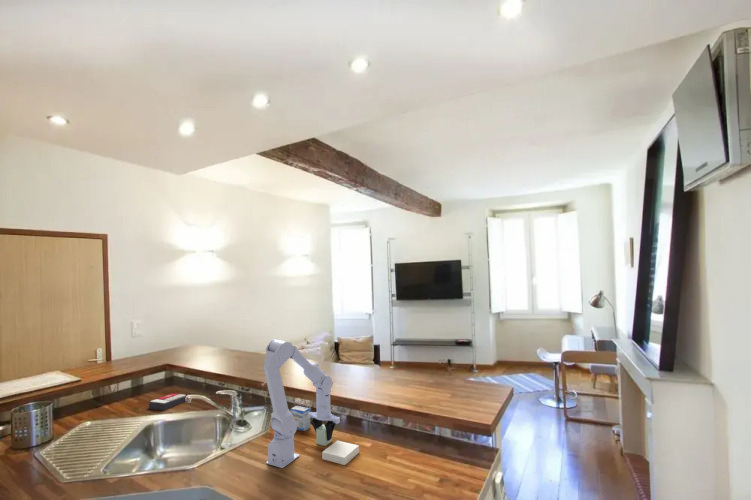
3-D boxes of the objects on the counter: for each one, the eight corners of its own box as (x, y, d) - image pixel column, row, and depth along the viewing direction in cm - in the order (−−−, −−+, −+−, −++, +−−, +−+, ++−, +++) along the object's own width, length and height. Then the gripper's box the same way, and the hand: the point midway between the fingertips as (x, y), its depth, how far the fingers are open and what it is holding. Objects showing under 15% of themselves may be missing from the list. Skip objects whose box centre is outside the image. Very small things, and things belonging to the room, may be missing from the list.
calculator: (187, 394, 203) (164, 402, 189) (187, 402, 203) (163, 411, 189) (172, 392, 207) (148, 400, 193) (172, 400, 206) (148, 408, 192)
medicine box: (290, 428, 163) (290, 408, 164) (296, 424, 167) (296, 405, 167) (304, 431, 159) (303, 411, 160) (310, 427, 163) (310, 407, 164)
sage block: (325, 446, 146) (325, 430, 146) (316, 443, 148) (316, 428, 148) (332, 441, 150) (331, 426, 150) (323, 439, 152) (322, 424, 152)
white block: (344, 466, 131) (344, 457, 131) (322, 460, 136) (322, 452, 136) (359, 453, 140) (358, 445, 140) (337, 448, 145) (337, 440, 145)
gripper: (343, 403, 150) (344, 437, 149) (315, 398, 156) (315, 431, 156) (333, 409, 143) (334, 445, 143) (304, 404, 150) (305, 438, 149)
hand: (324, 438), depth 149 cm, fingers closed on sage block, 4 cm apart
